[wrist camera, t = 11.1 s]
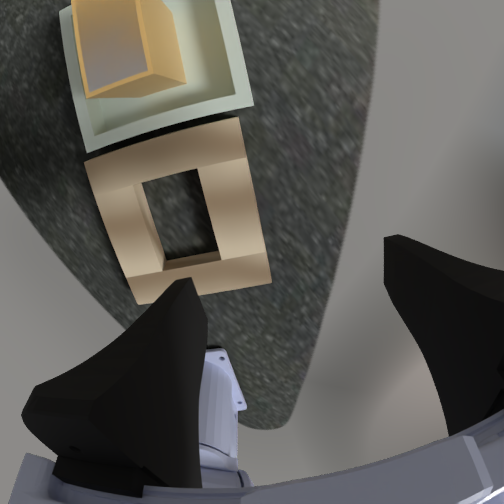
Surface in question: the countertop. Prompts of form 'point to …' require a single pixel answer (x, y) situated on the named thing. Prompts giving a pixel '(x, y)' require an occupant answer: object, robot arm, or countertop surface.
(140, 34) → the tan rectangular block
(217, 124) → the wooden frame
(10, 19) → the countertop surface
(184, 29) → the parts tray
